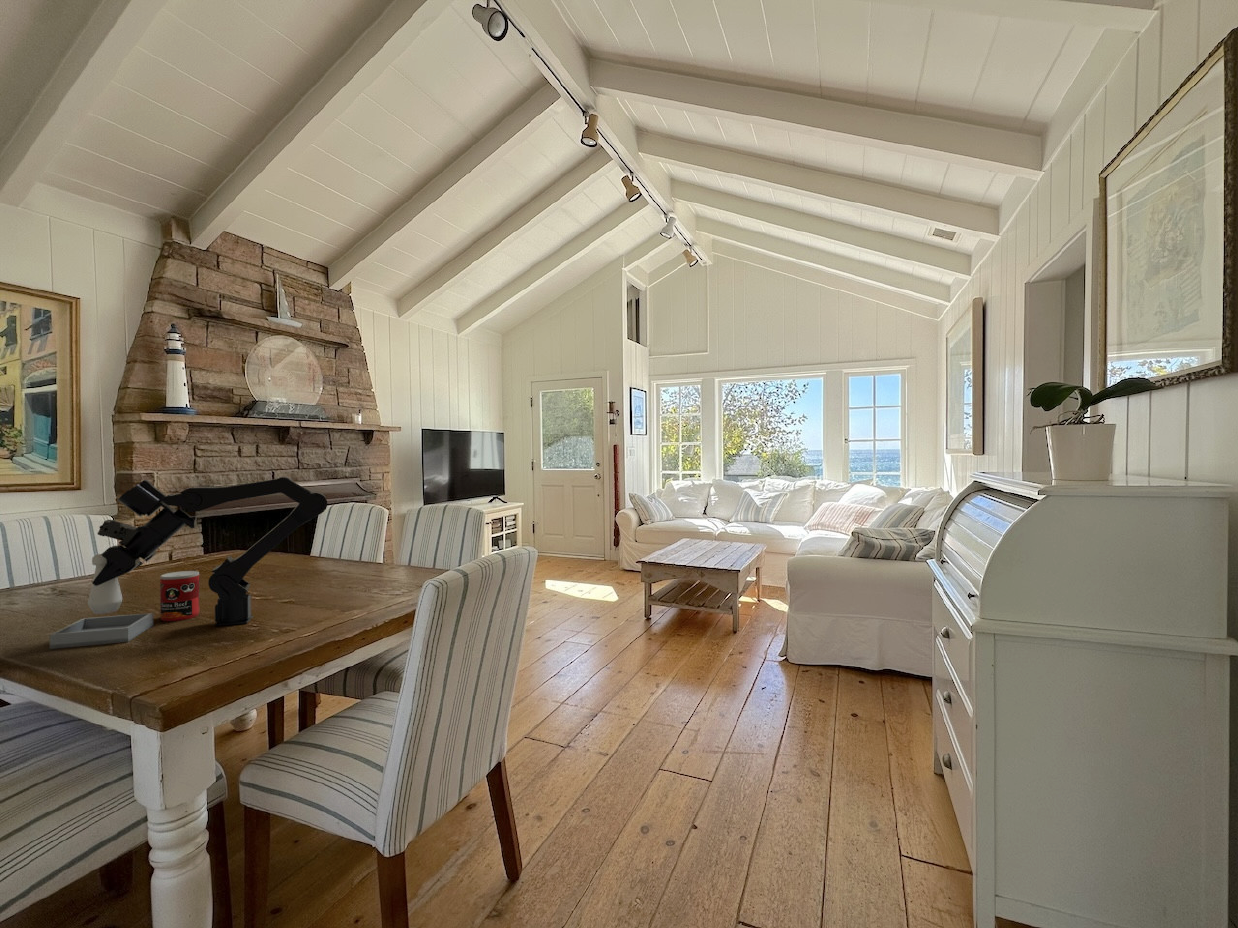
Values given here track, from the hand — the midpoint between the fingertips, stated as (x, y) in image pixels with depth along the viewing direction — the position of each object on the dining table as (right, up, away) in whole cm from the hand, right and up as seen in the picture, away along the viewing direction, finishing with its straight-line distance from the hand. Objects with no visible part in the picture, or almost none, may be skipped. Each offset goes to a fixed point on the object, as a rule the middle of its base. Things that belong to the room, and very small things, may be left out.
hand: (97, 582), depth 125 cm
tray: (+1, -12, +1) cm, 12 cm away
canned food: (+6, -12, +16) cm, 21 cm away
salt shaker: (+1, -7, +1) cm, 7 cm away
